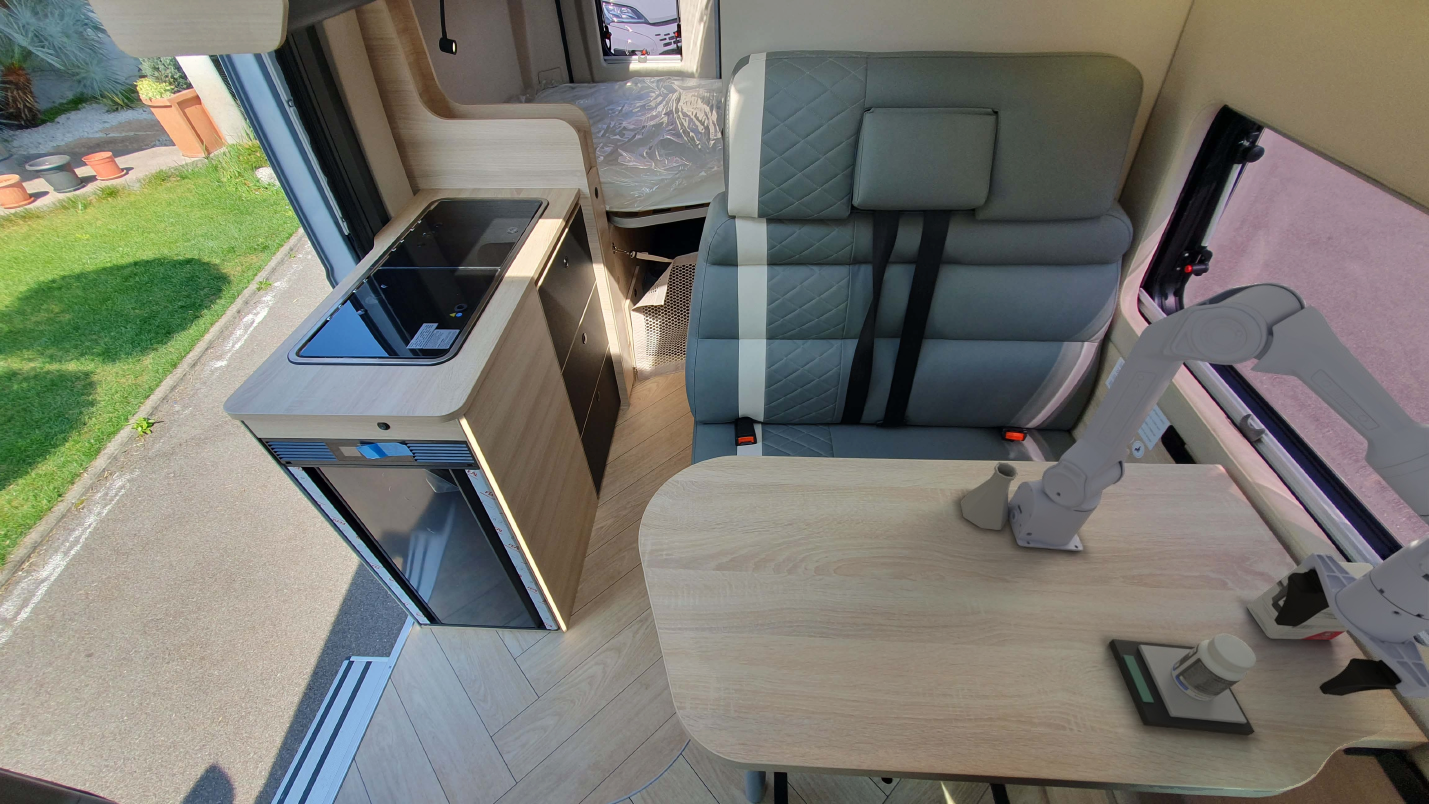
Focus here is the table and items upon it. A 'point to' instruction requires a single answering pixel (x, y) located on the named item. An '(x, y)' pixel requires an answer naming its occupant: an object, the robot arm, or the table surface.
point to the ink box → (1315, 627)
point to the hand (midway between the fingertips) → (1306, 655)
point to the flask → (990, 499)
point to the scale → (1173, 691)
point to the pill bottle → (1213, 666)
